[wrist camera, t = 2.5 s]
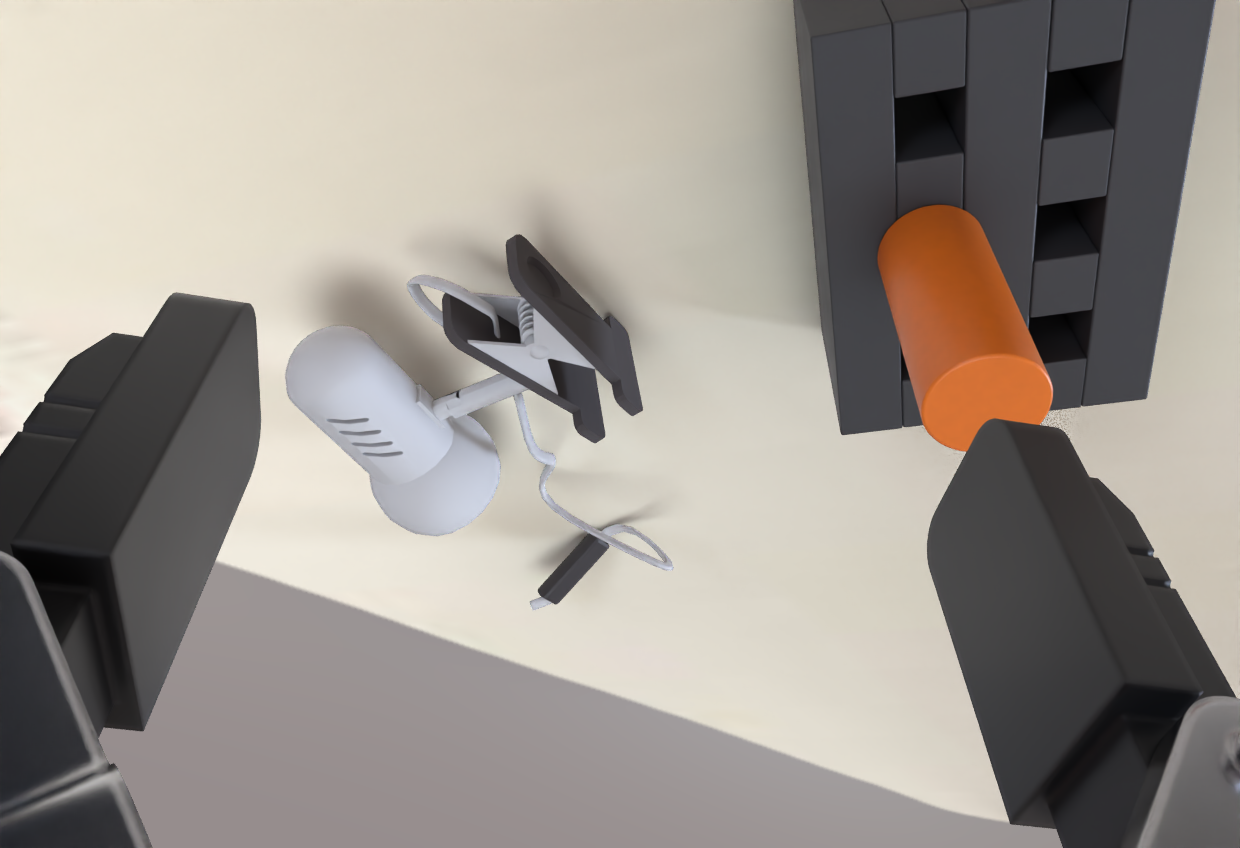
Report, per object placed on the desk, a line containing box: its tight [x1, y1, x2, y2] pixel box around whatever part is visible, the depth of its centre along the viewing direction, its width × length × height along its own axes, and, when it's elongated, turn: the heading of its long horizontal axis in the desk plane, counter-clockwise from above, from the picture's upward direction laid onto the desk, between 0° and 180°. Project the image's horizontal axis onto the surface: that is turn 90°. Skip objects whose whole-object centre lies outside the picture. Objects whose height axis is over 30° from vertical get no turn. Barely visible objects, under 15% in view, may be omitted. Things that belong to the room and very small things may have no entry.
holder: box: [793, 0, 1216, 435], centre depth 31 cm, size 10×13×6 cm
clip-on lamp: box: [285, 234, 673, 610], centre depth 40 cm, size 12×6×18 cm
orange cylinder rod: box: [877, 205, 1053, 452], centre depth 28 cm, size 3×3×12 cm
